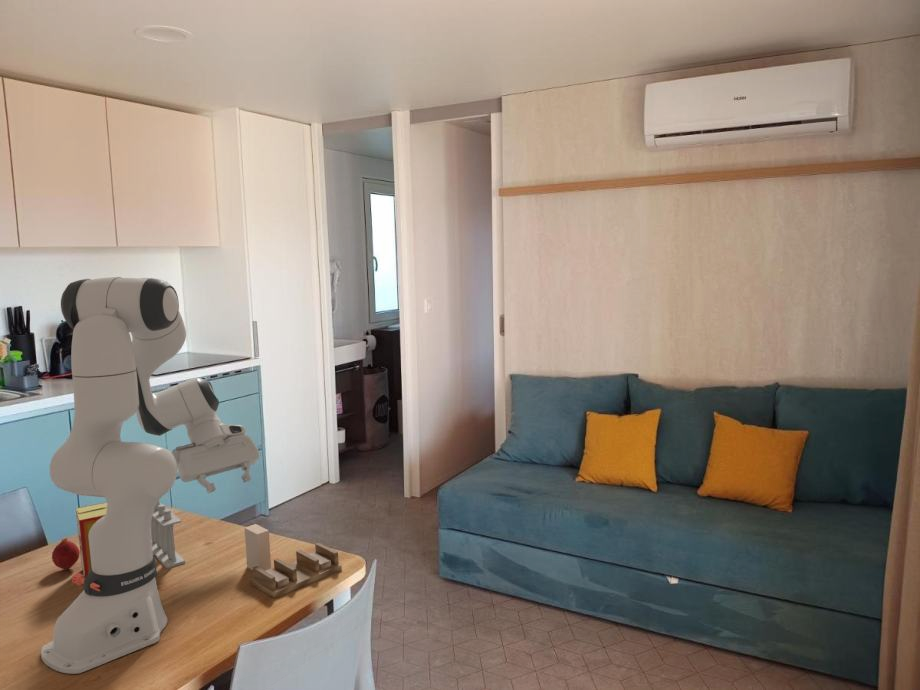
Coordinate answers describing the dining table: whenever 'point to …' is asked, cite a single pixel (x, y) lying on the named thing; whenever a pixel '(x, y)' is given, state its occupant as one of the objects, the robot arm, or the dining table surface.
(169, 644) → the dining table surface
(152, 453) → the robot arm
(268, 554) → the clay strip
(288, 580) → the slotted holder block
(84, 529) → the baking soda box
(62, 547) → the onion
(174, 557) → the test tube rack
